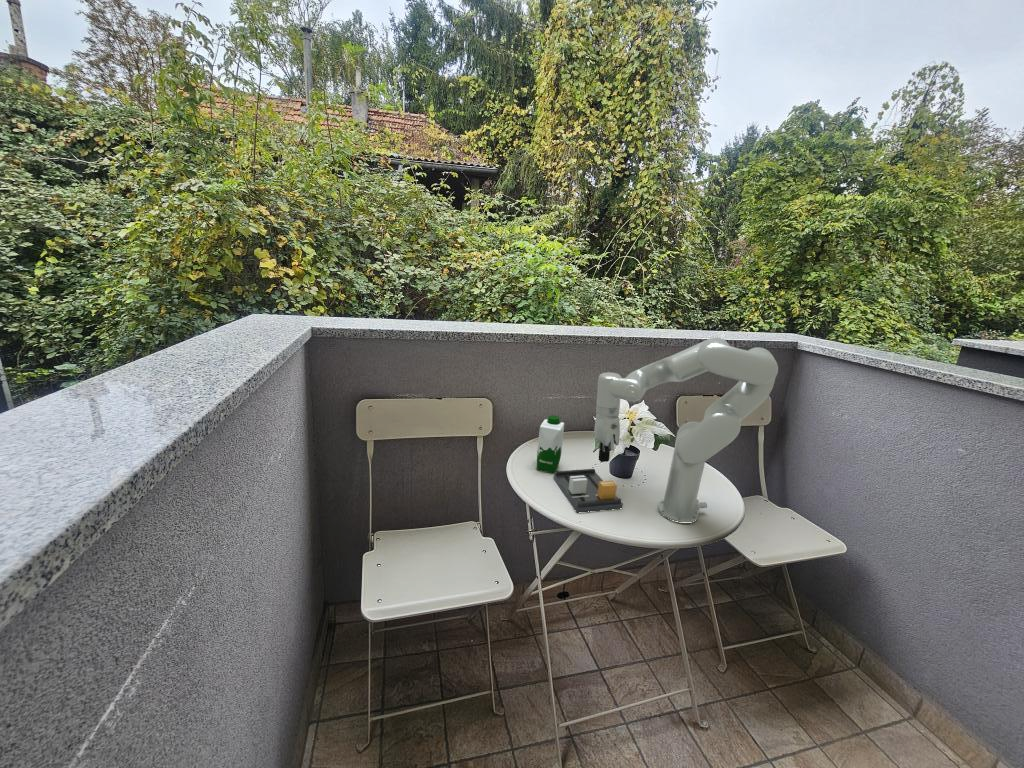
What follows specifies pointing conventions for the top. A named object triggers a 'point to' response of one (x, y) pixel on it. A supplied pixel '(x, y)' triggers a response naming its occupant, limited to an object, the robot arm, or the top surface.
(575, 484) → the block
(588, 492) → the panel
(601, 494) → the block
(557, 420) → the milk carton
